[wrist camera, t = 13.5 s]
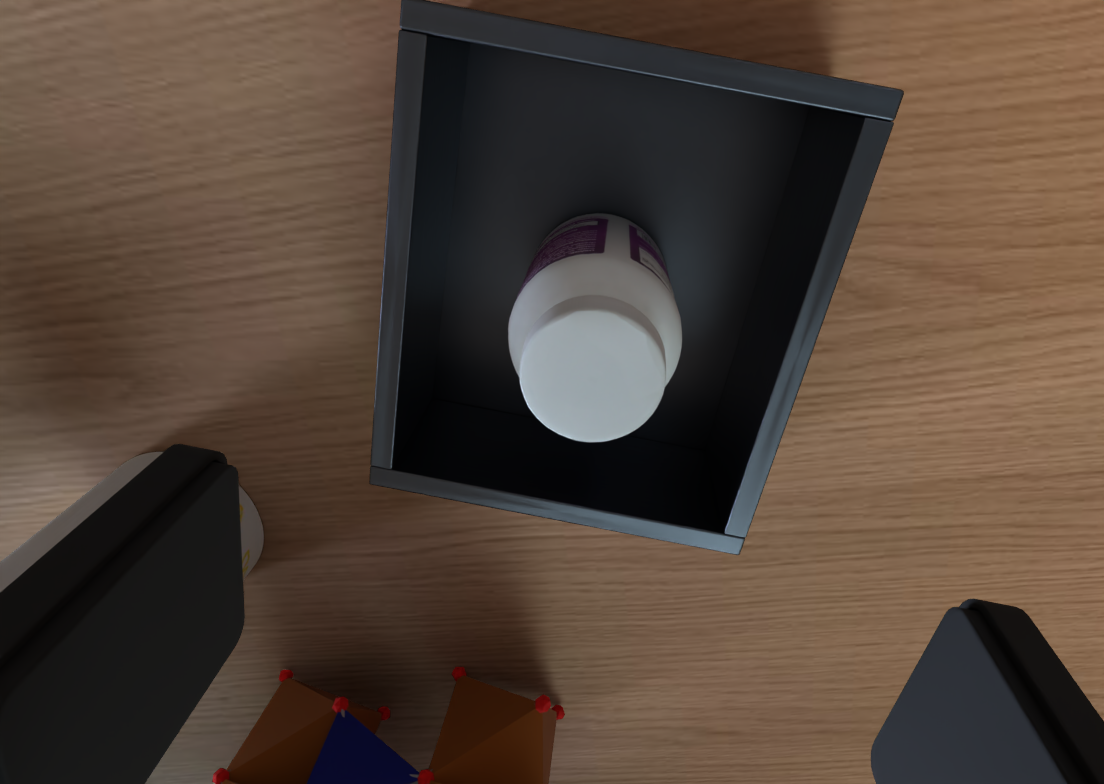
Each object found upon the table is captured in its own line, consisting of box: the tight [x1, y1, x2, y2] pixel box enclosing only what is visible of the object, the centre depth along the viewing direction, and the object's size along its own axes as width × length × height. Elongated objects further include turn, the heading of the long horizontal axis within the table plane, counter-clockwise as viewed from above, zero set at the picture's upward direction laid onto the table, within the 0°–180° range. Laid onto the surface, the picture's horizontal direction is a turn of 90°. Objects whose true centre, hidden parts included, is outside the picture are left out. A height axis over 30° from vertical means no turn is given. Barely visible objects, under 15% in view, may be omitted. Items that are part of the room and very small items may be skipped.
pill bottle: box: [508, 213, 682, 442], centre depth 23 cm, size 5×5×10 cm
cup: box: [0, 452, 264, 592], centre depth 30 cm, size 8×8×12 cm
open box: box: [369, 0, 904, 555], centre depth 25 cm, size 16×14×7 cm
